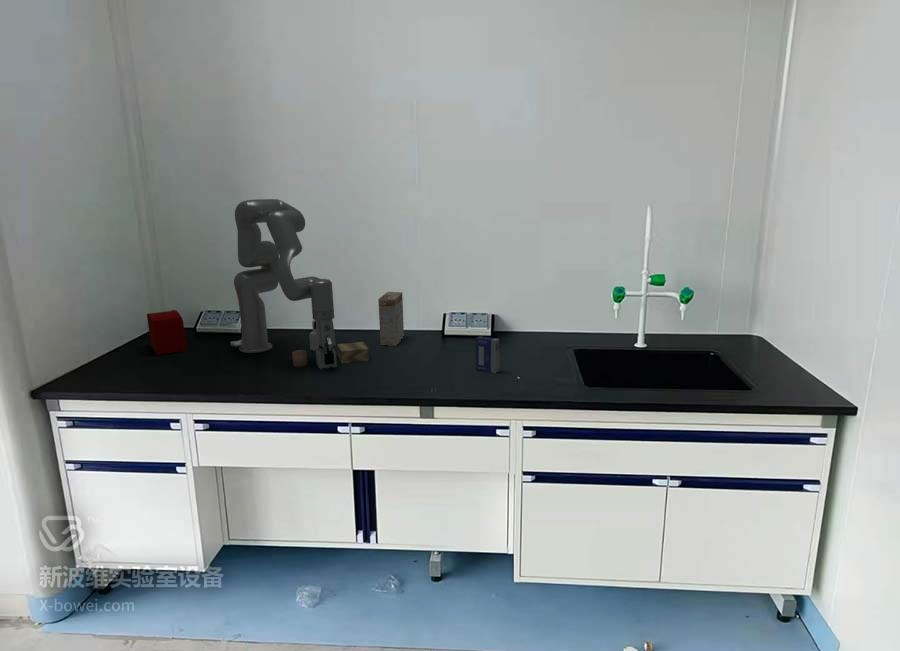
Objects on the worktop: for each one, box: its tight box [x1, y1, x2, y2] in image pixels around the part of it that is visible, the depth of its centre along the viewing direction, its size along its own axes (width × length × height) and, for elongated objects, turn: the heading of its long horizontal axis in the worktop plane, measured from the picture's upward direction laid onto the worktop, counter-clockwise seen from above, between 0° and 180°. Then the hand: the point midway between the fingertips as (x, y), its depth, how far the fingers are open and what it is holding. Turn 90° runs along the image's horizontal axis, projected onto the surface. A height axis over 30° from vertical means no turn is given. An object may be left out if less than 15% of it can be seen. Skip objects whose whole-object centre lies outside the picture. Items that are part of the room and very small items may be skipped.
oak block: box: [336, 341, 370, 365], centre depth 215 cm, size 10×10×5 cm
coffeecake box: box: [377, 291, 405, 347], centre depth 236 cm, size 15×7×20 cm, turn 172°
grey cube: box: [315, 348, 338, 370], centre depth 207 cm, size 6×6×6 cm
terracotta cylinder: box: [291, 349, 308, 368], centre depth 208 cm, size 5×5×5 cm
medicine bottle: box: [308, 320, 334, 352], centre depth 228 cm, size 7×7×12 cm
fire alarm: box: [146, 309, 187, 356], centre depth 229 cm, size 16×11×15 cm
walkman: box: [475, 335, 500, 374], centre depth 199 cm, size 8×3×12 cm, turn 60°
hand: (326, 360), depth 207 cm, fingers open, 9 cm apart
